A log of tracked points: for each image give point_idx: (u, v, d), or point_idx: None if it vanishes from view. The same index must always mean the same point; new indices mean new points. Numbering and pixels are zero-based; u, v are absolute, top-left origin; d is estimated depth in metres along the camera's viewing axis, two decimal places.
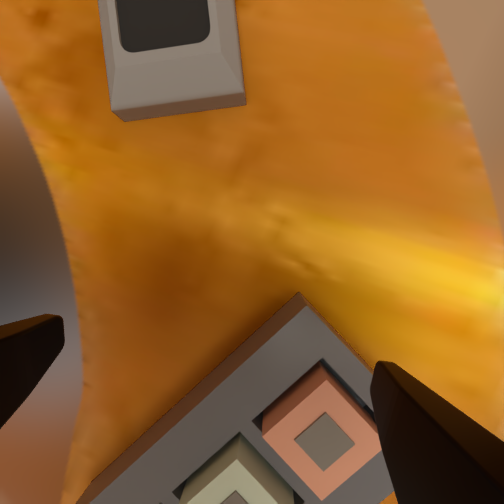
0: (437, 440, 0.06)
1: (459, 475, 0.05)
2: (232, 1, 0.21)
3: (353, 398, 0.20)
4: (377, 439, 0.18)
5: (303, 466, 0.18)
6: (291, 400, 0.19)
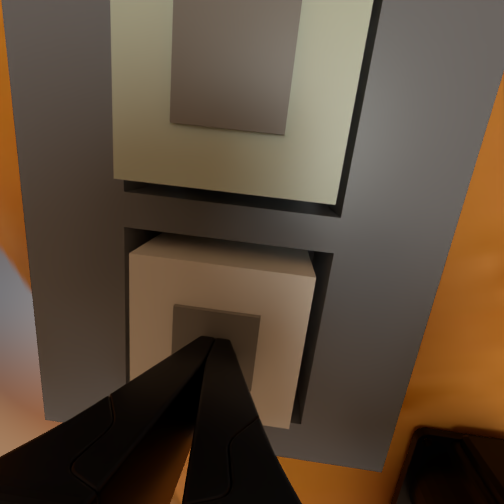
0: None
1: None
2: None
3: None
4: None
5: None
6: None
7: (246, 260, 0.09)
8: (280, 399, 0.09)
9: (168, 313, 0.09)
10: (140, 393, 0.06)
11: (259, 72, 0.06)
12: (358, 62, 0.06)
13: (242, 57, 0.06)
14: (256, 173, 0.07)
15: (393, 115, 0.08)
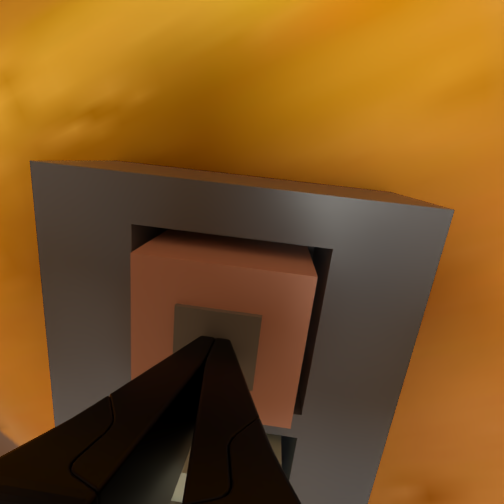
0: None
1: None
2: None
3: (255, 243, 0.11)
4: (294, 281, 0.08)
5: None
6: None
7: None
8: None
9: None
10: (140, 393, 0.06)
11: None
12: None
13: None
14: None
15: None
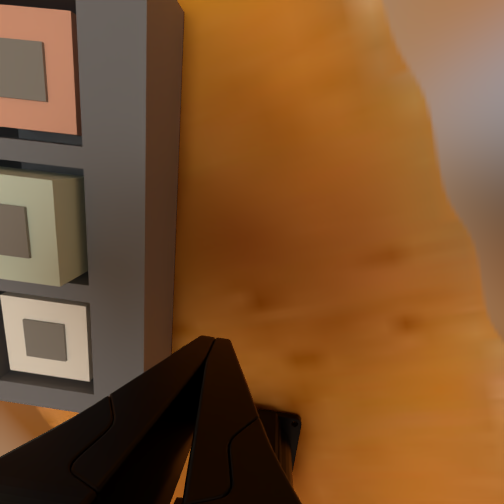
0: None
1: None
2: None
3: None
4: (58, 15, 0.13)
5: (32, 116, 0.15)
6: None
7: None
8: (82, 365, 0.18)
9: (22, 323, 0.18)
10: (140, 393, 0.06)
11: (15, 232, 0.14)
12: (53, 230, 0.14)
13: (4, 228, 0.14)
14: (22, 272, 0.15)
15: (101, 239, 0.16)
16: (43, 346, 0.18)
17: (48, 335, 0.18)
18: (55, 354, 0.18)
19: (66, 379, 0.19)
